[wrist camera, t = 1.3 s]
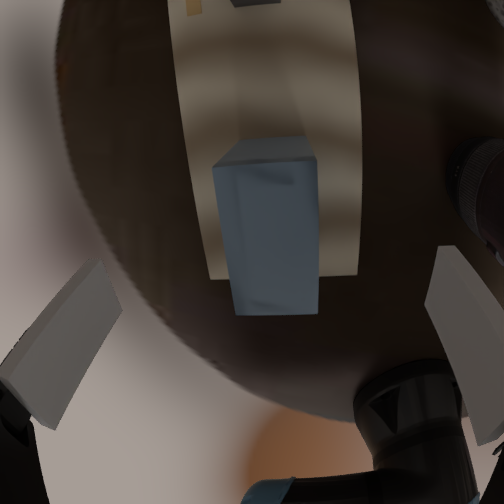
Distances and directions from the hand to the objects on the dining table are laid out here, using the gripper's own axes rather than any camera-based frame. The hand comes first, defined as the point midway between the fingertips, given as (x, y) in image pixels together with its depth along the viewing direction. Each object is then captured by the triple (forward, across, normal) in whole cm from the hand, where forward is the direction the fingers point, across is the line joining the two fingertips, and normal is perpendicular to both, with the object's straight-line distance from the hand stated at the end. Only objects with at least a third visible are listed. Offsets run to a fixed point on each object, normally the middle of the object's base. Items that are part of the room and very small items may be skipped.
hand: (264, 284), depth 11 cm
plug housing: (+11, 0, 0) cm, 11 cm away
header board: (+13, 0, -9) cm, 16 cm away
